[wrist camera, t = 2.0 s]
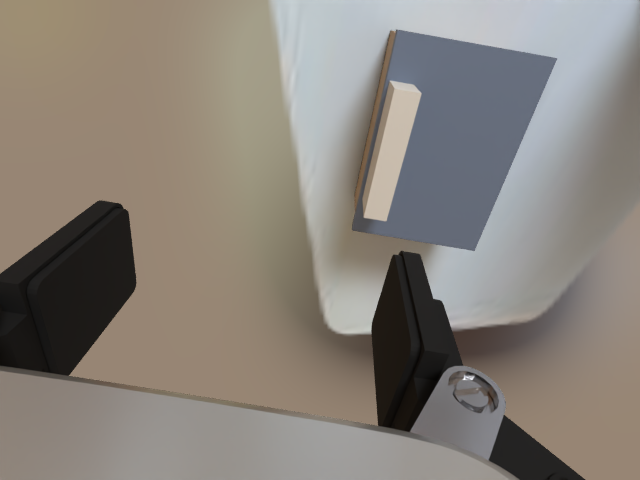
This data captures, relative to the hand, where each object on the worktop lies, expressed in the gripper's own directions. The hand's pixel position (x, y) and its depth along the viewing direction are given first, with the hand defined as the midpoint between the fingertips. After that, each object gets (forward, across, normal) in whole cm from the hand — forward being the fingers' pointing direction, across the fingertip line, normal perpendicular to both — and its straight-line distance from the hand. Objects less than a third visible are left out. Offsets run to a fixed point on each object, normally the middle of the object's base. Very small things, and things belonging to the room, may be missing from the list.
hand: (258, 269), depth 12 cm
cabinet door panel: (+17, -9, 0) cm, 19 cm away
